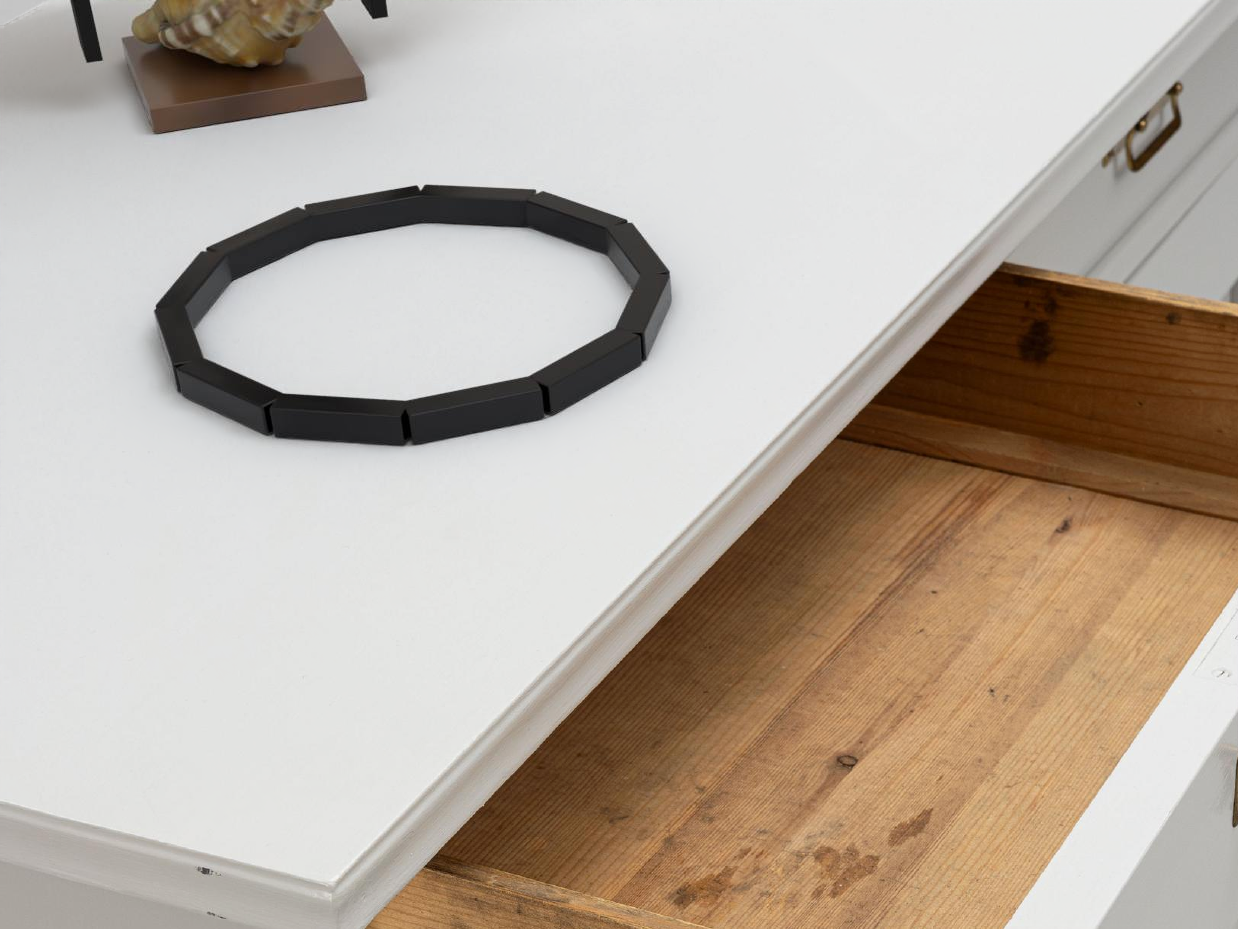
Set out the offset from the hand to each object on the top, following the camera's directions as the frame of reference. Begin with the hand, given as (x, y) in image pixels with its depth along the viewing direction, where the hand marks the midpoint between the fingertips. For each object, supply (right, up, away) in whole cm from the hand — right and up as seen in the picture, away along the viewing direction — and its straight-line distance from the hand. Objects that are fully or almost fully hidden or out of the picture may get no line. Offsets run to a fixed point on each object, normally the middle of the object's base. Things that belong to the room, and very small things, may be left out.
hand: (235, 31), depth 105 cm
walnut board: (0, -2, +1) cm, 2 cm away
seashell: (+1, -1, +1) cm, 1 cm away
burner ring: (+12, -17, -19) cm, 28 cm away
